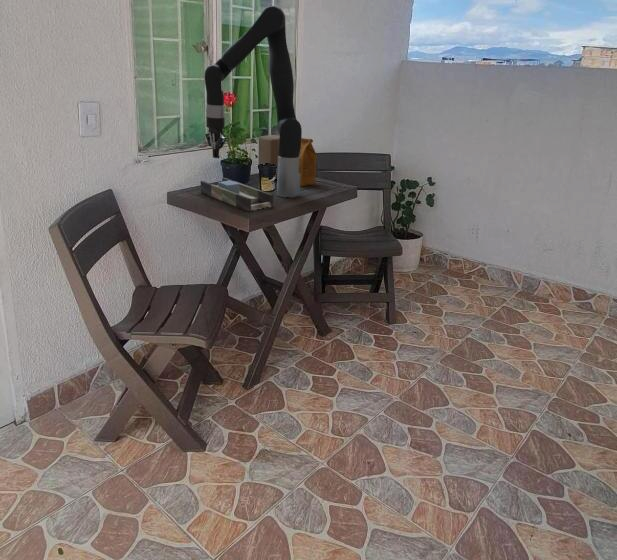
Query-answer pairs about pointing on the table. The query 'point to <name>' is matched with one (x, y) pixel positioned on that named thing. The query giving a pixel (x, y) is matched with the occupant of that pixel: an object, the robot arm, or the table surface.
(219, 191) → the trap lane
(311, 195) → the table surface
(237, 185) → the slate block
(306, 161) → the coffee package
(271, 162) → the block
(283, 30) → the robot arm
